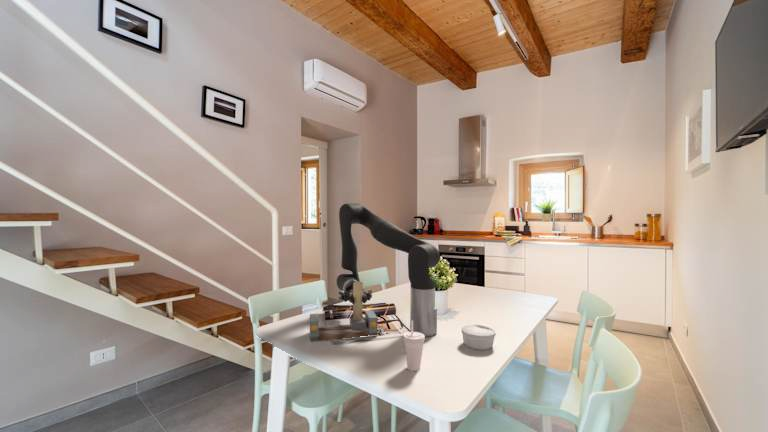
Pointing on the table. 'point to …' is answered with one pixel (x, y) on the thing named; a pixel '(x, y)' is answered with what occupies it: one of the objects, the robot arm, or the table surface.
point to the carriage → (358, 307)
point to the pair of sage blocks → (369, 318)
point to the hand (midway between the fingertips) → (359, 300)
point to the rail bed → (340, 332)
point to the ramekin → (478, 337)
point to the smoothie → (413, 348)
